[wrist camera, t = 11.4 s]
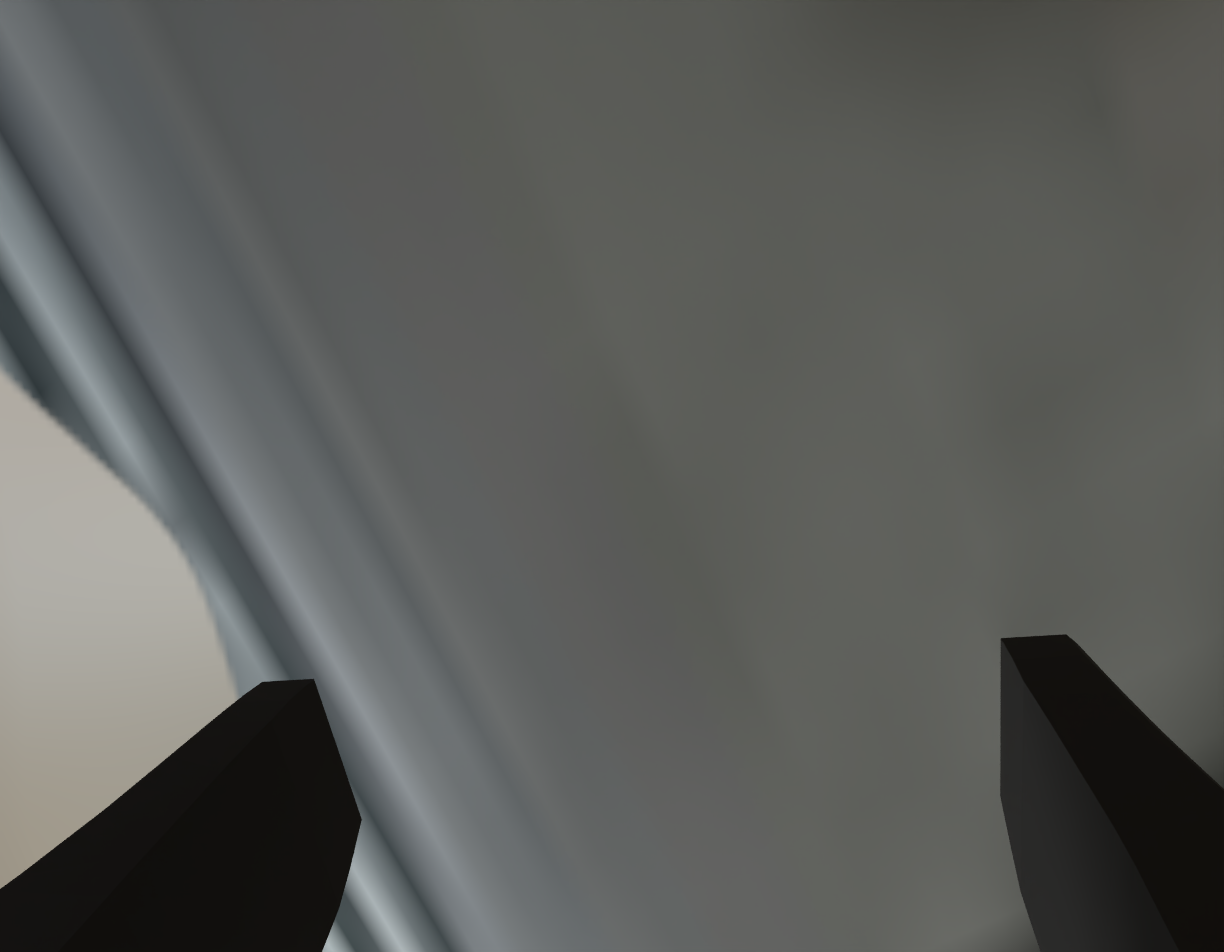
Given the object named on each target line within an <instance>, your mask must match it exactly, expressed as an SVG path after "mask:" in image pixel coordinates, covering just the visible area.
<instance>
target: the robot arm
mask: <svg viewBox="0 0 1224 952" xmlns="http://www.w3.org/2000/svg"><path fill="white" fill-rule="evenodd" d="M1000 796H1001V801H1002V806H1003V811H1004V816H1005V821H1006V825H1007V830H1008V835H1009V840H1010V845H1011V850H1012V854H1013V859H1014V863H1015V868H1016V872H1017V877H1018V881H1019V886H1020V891H1021V894H1022V897H1023V900H1024V903H1025V906H1026V909H1027V912H1028V915H1029V918H1030V921H1031V924H1032V927H1033V930H1034V933H1035V936H1036V939H1037V942H1038V945H1039V948H1040V951H1041V952H1224V789H1223V788H1222V787H1221V786H1220V785H1219V784H1218V783H1217V782H1216V781H1215V780H1213V779H1212V778H1211V777H1210V776H1209V775H1208V774H1207V773H1206V772H1205V771H1204V770H1203V769H1202V768H1201V767H1199V766H1198V765H1197V764H1196V763H1195V762H1194V761H1193V760H1192V759H1191V758H1190V757H1189V756H1188V755H1187V754H1185V753H1184V752H1183V751H1182V750H1181V749H1180V748H1179V747H1178V746H1177V745H1176V744H1175V743H1174V742H1173V741H1172V740H1170V739H1169V738H1168V737H1167V736H1166V735H1165V734H1164V733H1163V732H1162V731H1161V730H1160V729H1159V728H1158V727H1157V726H1156V725H1155V724H1154V723H1153V722H1152V721H1151V720H1150V719H1149V718H1148V717H1147V716H1146V715H1145V714H1144V713H1143V712H1142V711H1141V710H1140V709H1139V708H1138V707H1137V706H1136V705H1135V704H1134V703H1133V702H1132V701H1131V700H1130V699H1129V698H1128V697H1127V696H1126V695H1125V694H1124V693H1123V692H1122V691H1121V690H1120V689H1119V687H1118V686H1117V685H1116V684H1115V683H1114V682H1113V681H1112V680H1111V679H1110V678H1109V677H1108V676H1107V675H1106V674H1105V673H1104V672H1103V671H1102V670H1101V669H1100V668H1099V666H1098V665H1097V664H1096V663H1095V662H1094V661H1093V660H1092V659H1091V658H1090V657H1089V656H1088V655H1087V654H1086V653H1085V651H1084V650H1083V649H1082V648H1081V647H1080V646H1079V645H1078V644H1077V643H1076V642H1075V641H1073V640H1072V639H1071V638H1070V637H1069V636H1067V635H1066V634H1065V635H1048V636H1031V637H1014V638H1001V773H1000ZM361 820H362V819H361V816H360V813H359V810H358V807H357V804H356V801H355V798H354V795H353V792H352V789H351V787H350V784H349V781H348V778H347V775H346V772H345V769H344V766H343V763H342V760H341V757H340V754H339V751H338V748H337V745H336V742H335V740H334V737H333V734H332V731H331V728H330V725H329V722H328V719H327V716H326V713H325V710H324V707H323V704H322V701H321V698H320V695H319V693H318V690H317V687H316V684H315V681H314V679H304V680H287V681H270V682H262V683H260V684H259V685H257V686H256V687H255V688H253V689H252V690H250V691H249V692H248V693H246V694H245V695H244V696H242V697H241V698H240V699H238V700H237V701H236V702H235V703H233V704H232V705H231V706H230V707H228V708H227V709H226V710H225V711H223V712H222V713H221V714H220V715H218V716H217V717H216V718H215V719H213V721H211V722H210V723H209V724H207V725H206V726H205V727H204V728H203V729H201V730H200V731H199V732H198V733H197V734H195V735H194V736H193V737H192V738H190V739H189V740H188V741H187V742H186V743H185V744H183V745H182V746H181V747H180V748H178V749H177V750H176V751H175V752H174V753H172V754H171V755H170V756H169V757H168V758H166V759H165V760H164V761H163V762H162V763H160V764H159V765H158V766H157V767H156V768H154V769H153V770H152V771H151V772H150V773H148V774H147V775H146V776H145V777H143V778H142V779H141V780H140V781H139V782H138V783H136V784H135V785H134V786H133V787H131V788H130V789H129V790H128V791H127V792H125V793H124V794H123V795H122V796H120V797H119V798H118V799H117V800H116V801H114V802H113V803H112V804H111V805H110V806H108V807H107V808H106V809H105V810H104V811H102V812H101V813H99V814H98V815H97V816H96V817H94V818H93V819H92V820H90V821H89V822H88V823H86V824H85V825H84V826H83V827H81V828H80V829H79V830H77V831H76V832H75V833H74V834H72V835H71V836H70V837H68V838H67V839H66V840H64V841H63V842H62V843H60V844H59V845H58V846H57V847H55V848H54V849H53V850H51V851H50V852H49V853H47V854H46V855H45V856H44V857H42V858H41V859H40V860H38V861H37V862H36V863H35V864H33V865H32V866H31V867H29V868H28V869H27V870H25V871H24V872H23V873H22V874H20V875H19V876H17V877H16V878H15V879H13V880H12V881H11V882H9V883H8V884H7V885H5V886H4V887H2V888H1V889H0V952H322V950H323V948H324V945H325V943H326V940H327V938H328V935H329V933H330V930H331V928H332V925H333V922H334V920H335V917H336V914H337V912H338V909H339V906H340V903H341V899H342V896H343V892H344V888H345V885H346V881H347V877H348V874H349V870H350V866H351V862H352V858H353V854H354V850H355V845H356V841H357V837H358V833H359V829H360V824H361Z"/></svg>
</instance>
